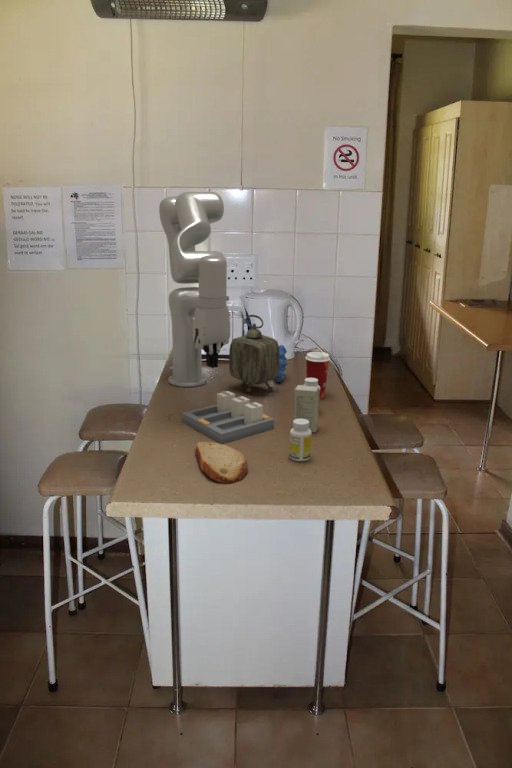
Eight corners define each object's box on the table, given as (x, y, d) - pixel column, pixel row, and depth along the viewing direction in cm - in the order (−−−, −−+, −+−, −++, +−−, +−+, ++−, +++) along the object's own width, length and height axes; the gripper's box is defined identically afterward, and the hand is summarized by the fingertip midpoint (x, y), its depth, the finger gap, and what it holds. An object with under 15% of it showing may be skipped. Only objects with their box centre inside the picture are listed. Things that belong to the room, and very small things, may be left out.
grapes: (269, 374, 232) (270, 340, 229) (288, 375, 231) (290, 342, 228) (265, 384, 221) (265, 349, 218) (285, 385, 220) (286, 351, 217)
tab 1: (231, 417, 189) (231, 397, 187) (242, 414, 191) (242, 395, 190) (238, 420, 187) (238, 401, 185) (249, 417, 189) (249, 398, 187)
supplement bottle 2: (307, 416, 194) (309, 383, 191) (296, 410, 199) (297, 378, 195) (322, 413, 197) (324, 380, 194) (311, 407, 202) (312, 375, 198)
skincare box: (318, 427, 186) (320, 386, 183) (315, 433, 183) (317, 391, 179) (295, 424, 188) (297, 383, 184) (292, 430, 184) (294, 388, 180)
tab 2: (244, 423, 185) (244, 403, 183) (255, 420, 187) (255, 401, 185) (251, 427, 182) (251, 407, 180) (262, 424, 185) (263, 404, 183)
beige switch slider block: (216, 411, 193) (217, 392, 191) (228, 408, 196) (228, 389, 194) (223, 414, 191) (223, 395, 189) (234, 411, 193) (235, 393, 191)
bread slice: (201, 445, 174) (201, 432, 173) (265, 458, 167) (265, 444, 166) (166, 473, 158) (166, 459, 157) (234, 488, 152) (234, 473, 150)
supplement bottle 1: (309, 453, 170) (311, 417, 167) (311, 462, 165) (313, 425, 162) (288, 452, 170) (289, 417, 167) (289, 461, 165) (291, 425, 162)
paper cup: (332, 399, 209) (334, 356, 205) (310, 401, 206) (312, 358, 202) (320, 391, 216) (323, 349, 211) (299, 393, 213) (301, 351, 209)
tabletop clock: (278, 392, 214) (281, 316, 206) (262, 399, 208) (263, 321, 200) (243, 382, 223) (244, 309, 215) (226, 389, 216) (226, 314, 208)
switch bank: (182, 421, 188) (182, 411, 187) (232, 408, 199) (233, 399, 198) (221, 443, 174) (221, 433, 173) (273, 428, 185) (274, 418, 184)
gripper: (226, 296, 187) (225, 358, 193) (181, 302, 178) (182, 367, 184) (242, 301, 181) (241, 365, 188) (197, 308, 173) (197, 375, 179)
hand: (212, 366), depth 186 cm, fingers closed
